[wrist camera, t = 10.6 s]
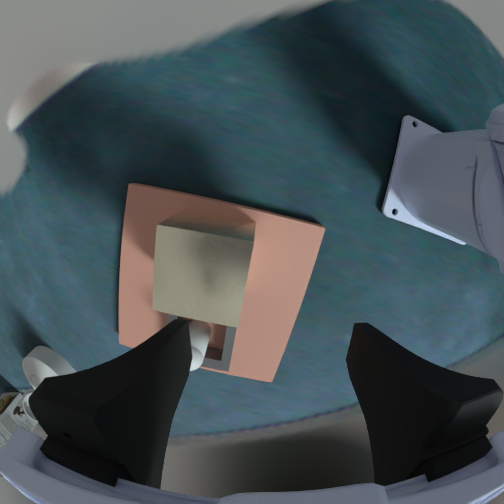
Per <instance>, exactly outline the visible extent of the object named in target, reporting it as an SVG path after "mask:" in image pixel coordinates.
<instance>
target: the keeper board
mask: <svg viewBox="0 0 504 504" xmlns="http://www.w3.org/2000/svg"><path fill="white" fill-rule="evenodd" d="M181 210H188V211H194V212H200V213H206V214H212V215H218V216H224V217H230V218H235V219H241V220H247V221H252V222H256V228H255V238H254V245H253V250H252V256H251V261H250V266H249V272H248V277H247V282H246V288H245V293H244V298H243V304H242V309H241V314H240V320H239V325H238V328H237V329H236V335H235V340H234V346H233V351H232V356H231V362H230V367H229V372H227V371H222V370H216V369H211V368H206V367H201V364H202V363H203V359H204V356H205V352H206V349H207V347H213V348H218V349H223V347H224V341H225V335H226V329H227V326H226V325H220V324H215V323H210V322H205V321H200V320H195V319H190V318H186V317H182V320H188V321H189V331H190V340H191V348H192V356H193V357H192V362H191V367H190V371H192V370H196V369H197V368H203V369H207V370H212V371H216V372H220V373H225V374H229V375H234V376H239V377H244V378H250V379H255V380H261V381H266V382H272V381H273V378H274V376H275V373H276V371H277V368H278V366H279V363H280V360H281V358H282V355H283V353H284V350H285V347H286V345H287V342H288V339H289V337H290V334H291V331H292V328H293V326H294V323H295V320H296V317H297V315H298V312H299V309H300V306H301V303H302V300H303V297H304V294H305V291H306V288H307V285H308V282H309V279H310V276H311V273H312V270H313V267H314V264H315V261H316V257H317V254H318V251H319V248H320V245H321V241H322V238H323V235H324V231H325V227H324V226H323V225H320V224H316V223H312V222H309V221H305V220H301V219H297V218H293V217H289V216H285V215H281V214H277V213H273V212H269V211H265V210H261V209H257V208H252V207H248V206H244V205H240V204H235V203H231V202H226V201H222V200H218V199H213V198H208V197H204V196H199V195H194V194H190V193H185V192H180V191H175V190H170V189H165V188H160V187H155V186H150V185H144V184H139V183H130V184H129V186H128V192H127V199H126V207H125V215H124V224H123V234H122V245H121V258H120V277H119V343H120V344H122V345H125V346H128V347H131V348H135V347H136V346H138V345H139V344H141V343H142V342H144V341H146V340H147V339H148V338H150V337H151V336H153V335H154V334H155V333H157V332H158V331H159V330H161V329H162V328H163V327H165V326H166V325H167V324H168V313H163V312H159V311H155V310H152V301H153V273H154V256H155V242H156V229H157V224H159V223H160V222H162V221H164V220H166V219H167V218H169V217H171V216H173V215H174V214H176V213H178V212H180V211H181Z"/></svg>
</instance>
